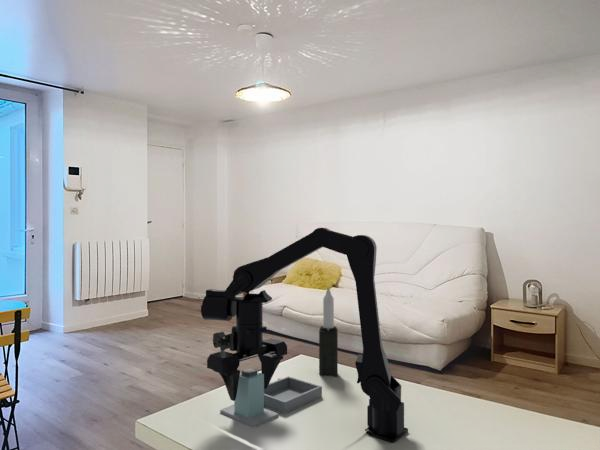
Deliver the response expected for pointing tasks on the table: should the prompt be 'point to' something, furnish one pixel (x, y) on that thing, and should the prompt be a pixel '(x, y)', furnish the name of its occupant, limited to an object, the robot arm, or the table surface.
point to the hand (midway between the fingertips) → (249, 394)
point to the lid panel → (250, 421)
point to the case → (290, 394)
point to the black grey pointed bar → (328, 339)
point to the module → (250, 393)
